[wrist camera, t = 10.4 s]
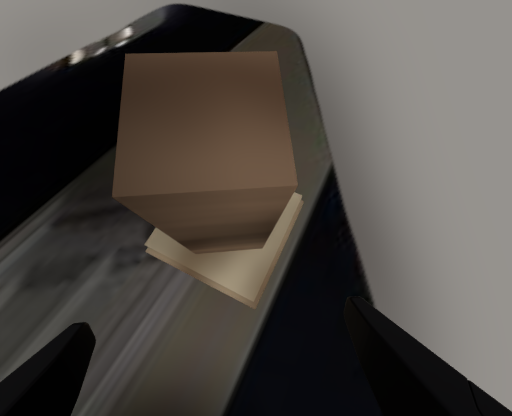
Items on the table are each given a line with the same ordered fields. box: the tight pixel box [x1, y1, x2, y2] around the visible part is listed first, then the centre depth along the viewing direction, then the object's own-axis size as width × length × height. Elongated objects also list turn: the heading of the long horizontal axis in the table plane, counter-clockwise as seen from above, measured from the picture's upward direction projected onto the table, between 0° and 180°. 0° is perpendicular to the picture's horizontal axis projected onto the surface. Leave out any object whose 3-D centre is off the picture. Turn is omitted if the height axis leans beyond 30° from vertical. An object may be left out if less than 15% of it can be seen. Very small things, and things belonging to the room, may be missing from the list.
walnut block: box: [112, 51, 298, 254], centre depth 13 cm, size 5×5×12 cm
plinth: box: [145, 192, 304, 309], centre depth 21 cm, size 10×10×4 cm
